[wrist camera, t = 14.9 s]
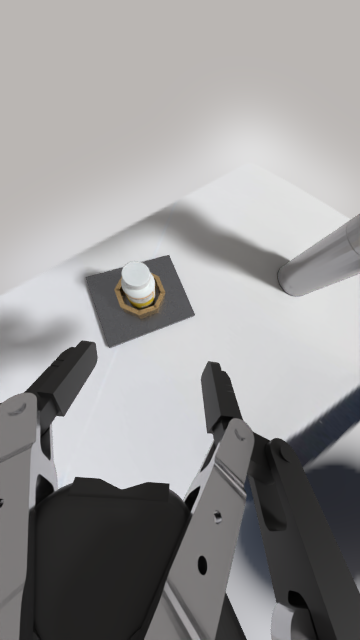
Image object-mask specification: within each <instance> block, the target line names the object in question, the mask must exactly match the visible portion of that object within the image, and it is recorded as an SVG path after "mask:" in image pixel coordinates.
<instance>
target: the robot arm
mask: <svg viewBox="0 0 360 640" xmlns="http://www.w3.org/2000/svg"><path fill="white" fill-rule="evenodd" d="M358 274H360V214H358V215H357V216H355V217H354V218H353V219H351V220H350V221H348V222H347V223H345V224H344V225H342V226H341V227H339V228H338V229H337V230H335V231H334V232H332V233H331V234H329V235H328V236H326V237H325V238H323V239H322V240H320V241H319V242H317V243H316V244H314V245H313V246H312V247H310V248H309V249H307V250H306V251H304V252H303V253H301V254H300V255H298V256H297V257H295V258H294V259H292V260H291V261H289V262H288V263H287V264H285V265H284V266H282V267H281V268H280V270H279V273H278V280H279V283H280V285H281V287H282V288H283V289H284V290H285V291H286V292H287V293H288V294H290V295H293V296H303V295H305V294H308V293H310V292H313V291H316V290H318V289H321V288H324V287H326V286H329V285H332V284H334V283H337V282H339V281H342V280H345V279H347V278H350V277H352V276H355V275H358ZM96 363H97V350H96V344H95V342H89V341H81V342H80V343H79V344H78V345H77V346H76V347H70V348H69V349H67V350H65V351H64V352H62V353H61V354H60V355H59V357H58V358H57V359H56V361H54V362H53V363H52V364H51V366H49V367H48V368H47V369H46V370H45V371H44V372H43V373H42V375H41V376H40V377H39V378H38V379H37V380H36V381H35V382H34V383H33V384H32V385H31V386H30V387H29V388H28V389H27V390H26V391H25V392H24V393H21V394H18V395H15V396H13V397H11V398H9V399H7V400H6V401H4V402H3V403H0V640H247V639H246V637H245V635H244V632H243V630H242V628H241V626H240V623H239V621H238V619H237V617H236V614H235V612H234V610H233V607H232V605H231V603H230V601H229V599H228V596H227V594H226V587H227V583H228V578H229V574H230V569H231V565H232V561H233V556H234V552H235V547H236V543H237V538H238V534H239V529H240V524H241V521H242V516H243V512H244V507H245V503H246V491H245V490H244V482H245V478H246V474H248V477H249V481H250V486H251V490H252V495H253V499H254V504H255V508H256V512H257V517H258V521H259V526H260V530H261V535H262V539H263V544H264V548H265V553H266V557H267V562H268V566H269V571H270V575H271V579H272V584H273V589H274V593H275V598H276V602H277V604H276V605H275V607H274V609H273V613H272V621H271V622H272V623H271V637H272V640H360V593H359V591H358V589H357V586H356V584H355V582H354V580H353V578H352V575H351V573H350V571H349V569H348V567H347V564H346V562H345V560H344V558H343V556H342V553H341V551H340V549H339V547H338V545H337V542H336V541H335V538H334V536H333V534H332V531H331V529H330V527H329V525H328V523H327V521H326V518H325V516H324V514H323V512H322V509H321V507H320V505H319V503H318V501H317V499H316V496H315V494H314V492H313V490H312V488H311V486H310V483H309V481H308V479H307V477H306V474H305V472H304V470H303V468H302V466H301V463H300V461H299V459H298V457H297V455H296V453H295V452H294V450H293V449H292V448H291V447H290V445H288V444H287V443H286V442H285V441H283V440H281V439H279V438H274V439H273V440H271V441H270V440H268V439H266V438H264V437H262V436H260V435H258V434H256V433H254V432H253V431H252V430H251V428H250V427H249V426H248V425H247V423H245V422H244V421H243V419H242V416H241V413H240V410H239V406H238V403H237V400H236V397H235V393H234V390H233V387H232V384H231V380H230V378H229V376H228V375H227V373H226V372H225V371H221V367H220V364H219V363H217V362H210V361H208V363H207V365H206V367H205V369H204V371H203V373H202V377H201V384H202V393H203V401H204V410H205V418H206V427H207V433H211V434H213V438H214V440H213V442H212V444H211V446H210V448H209V450H208V452H207V455H206V457H205V459H204V461H203V463H202V465H201V467H200V469H199V471H198V473H197V475H196V477H195V478H194V480H193V481H192V483H191V485H190V487H189V489H188V491H187V493H186V495H185V497H184V499H183V500H182V499H181V498H180V497H179V496H178V495H177V494H176V493H175V492H173V491H172V490H170V489H169V484H166V483H152V482H146V483H143V484H140V485H136V486H133V487H130V488H127V489H119V488H117V487H115V486H113V485H111V484H109V483H107V482H105V481H103V480H101V479H96V478H82V477H75V479H74V482H73V483H71V484H69V485H66V486H64V487H62V488H60V489H58V481H57V472H56V468H55V464H54V456H53V436H52V421H53V420H54V418H55V417H56V416H63V417H64V416H65V414H66V412H67V411H68V409H69V408H70V406H71V404H72V403H73V401H74V399H75V398H76V396H77V395H78V393H79V391H80V390H81V388H82V387H83V385H84V383H85V382H86V380H87V378H88V377H89V375H90V374H91V372H92V370H93V369H94V367H95V365H96Z"/></svg>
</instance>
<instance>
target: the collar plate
mask: <svg viewBox="0 0 360 640" xmlns="http://www.w3.org/2000/svg"><path fill="white" fill-rule="evenodd" d="M141 263H143V264H145V265H146V266H147V267H148V269H149V271H150V273H151V274H152V275H153V277H154V280H155V301H154V303H153V305H152V306H151V307H148V308H145V309H137V308H135V307H133V306H132V305H131V303H130V302H129V300H128V298H127V296H126V294H125V292H124V291H123V289H122V286H121V279H122V269H123V268H119V269H115V270H112V271H108V272H104V273H100V274H97V275H93V276H89V277H86V280H87V283H88V286H89V289H90V292H91V295H92V298H93V301H94V304H95V307H96V310H97V313H98V316H99V319H100V322H101V325H102V328H103V331H104V334H105V337H106V340H107V343H108V346H109V348H112V347H114V346H117V345H120V344H122V343H125V342H128V341H130V340H133V339H135V338H138V337H141V336H143V335H146V334H148V333H151V332H154V331H156V330H159V329H162V328H164V327H167V326H169V325H172V324H175V323H177V322H180V321H182V320H185V319H188V318H190V317H193V316H195V314H194V311H193V309H192V307H191V305H190V302H189V300H188V298H187V295H186V293H185V291H184V288H183V286H182V284H181V281H180V279H179V277H178V275H177V272H176V270H175V268H174V265H173V263H172V261H171V258H170V256H169V255H167V256H164V257H160V258H156V259H152V260H149V261H145V262H141Z"/></svg>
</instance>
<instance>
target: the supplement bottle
mask: <svg viewBox="0 0 360 640" xmlns="http://www.w3.org/2000/svg"><path fill="white" fill-rule="evenodd" d="M121 286H122V289H123V291H124V292H125V294H126V296H127V298H128V300H129V302H130V303H131V305H132V306H133V307H135V308H137V309H145V308H148V307H151V306H152V305H153V303H154V301H155V280H154V277H153V275H152V274H151V273H150V271H149V269H148V267H147V266H146V265H145V264H143V263H141V262H138V261H133V262H129V263H127V264H126V265H125V266H124V267H123V269H122V279H121Z"/></svg>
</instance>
